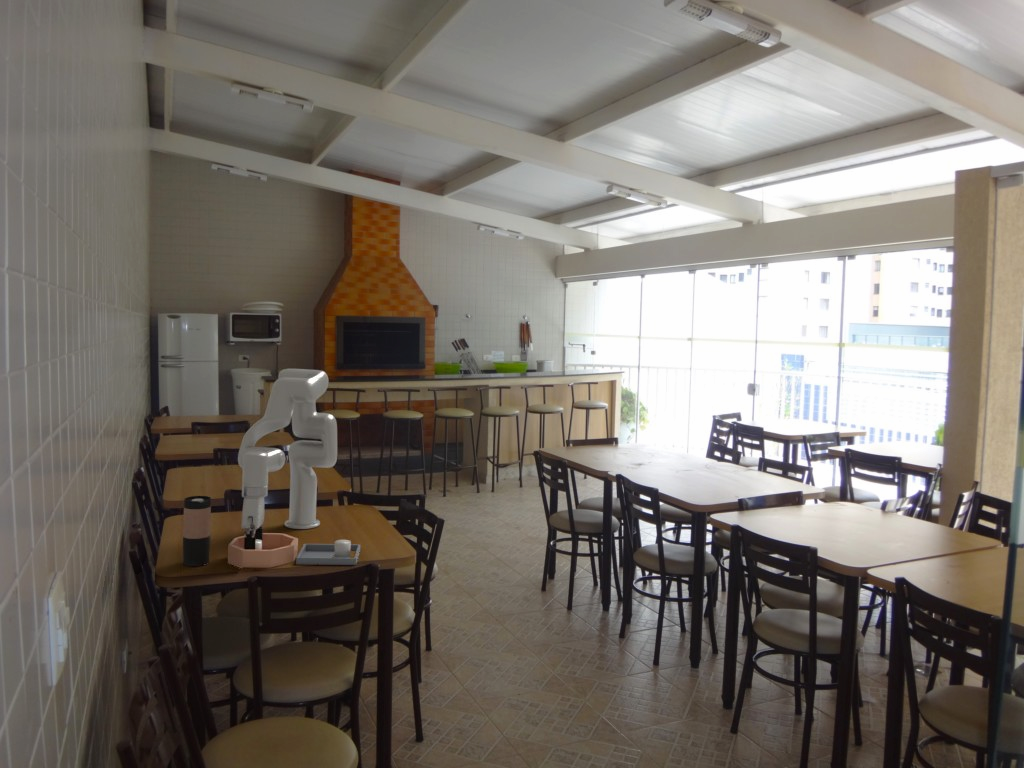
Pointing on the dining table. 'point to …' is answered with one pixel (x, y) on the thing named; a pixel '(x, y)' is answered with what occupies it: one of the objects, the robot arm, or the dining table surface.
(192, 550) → the travel mug
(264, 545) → the bowl
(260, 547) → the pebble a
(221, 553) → the dining table surface
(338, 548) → the pebble
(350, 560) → the parts tray
